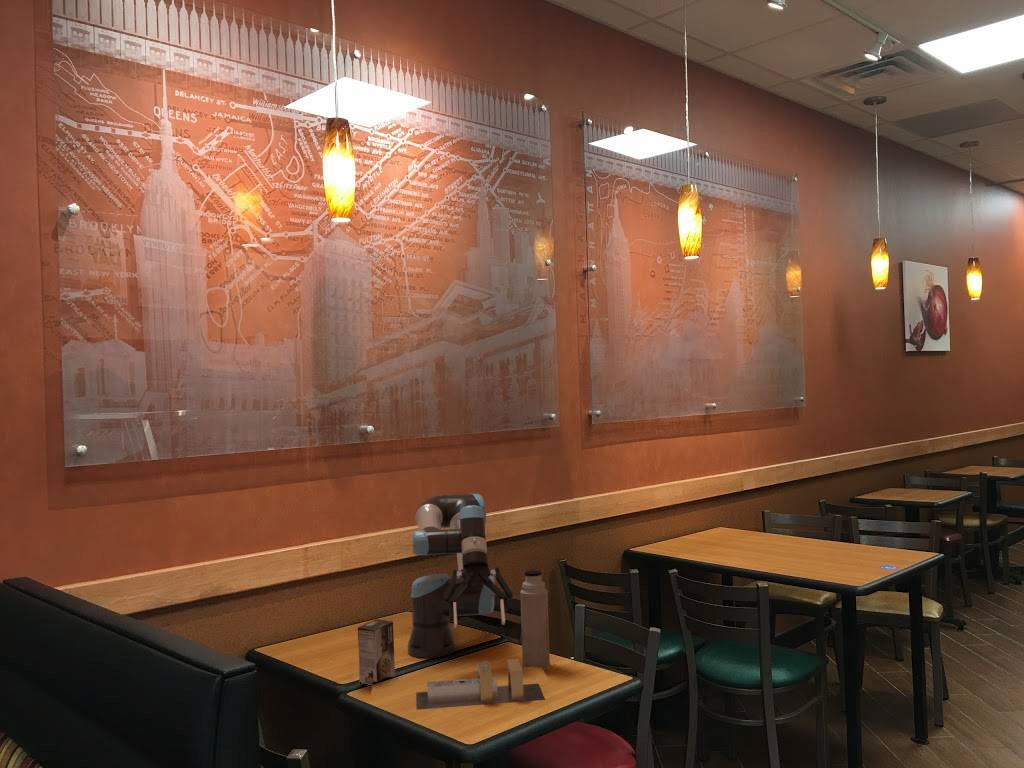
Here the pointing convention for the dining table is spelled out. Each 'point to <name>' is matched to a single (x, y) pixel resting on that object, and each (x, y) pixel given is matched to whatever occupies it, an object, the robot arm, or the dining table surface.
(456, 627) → the robot arm
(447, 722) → the dining table surface
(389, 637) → the coffee box
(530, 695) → the collar stand
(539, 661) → the thermos bottle
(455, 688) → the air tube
